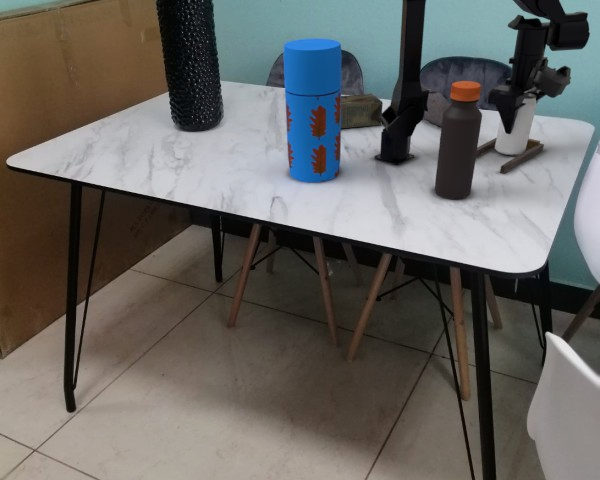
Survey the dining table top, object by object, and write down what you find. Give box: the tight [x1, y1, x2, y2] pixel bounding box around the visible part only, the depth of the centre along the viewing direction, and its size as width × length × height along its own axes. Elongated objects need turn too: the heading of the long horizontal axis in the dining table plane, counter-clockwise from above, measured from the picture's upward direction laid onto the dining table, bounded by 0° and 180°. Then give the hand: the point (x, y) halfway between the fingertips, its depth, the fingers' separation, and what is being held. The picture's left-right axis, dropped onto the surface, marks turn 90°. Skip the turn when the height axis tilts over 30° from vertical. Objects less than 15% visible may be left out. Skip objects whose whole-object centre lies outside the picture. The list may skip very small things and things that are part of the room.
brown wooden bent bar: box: [476, 137, 545, 175], centre depth 123 cm, size 17×10×2 cm, turn 135°
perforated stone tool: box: [423, 87, 451, 128], centre depth 142 cm, size 15×5×7 cm, turn 14°
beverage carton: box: [341, 92, 384, 129], centre depth 143 cm, size 8×19×7 cm, turn 102°
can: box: [494, 92, 538, 156], centre depth 122 cm, size 6×6×12 cm
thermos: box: [282, 38, 343, 183], centre depth 113 cm, size 11×11×25 cm
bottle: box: [434, 80, 483, 200], centre depth 104 cm, size 7×7×20 cm
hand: (515, 129), depth 123 cm, fingers closed on can, 6 cm apart
